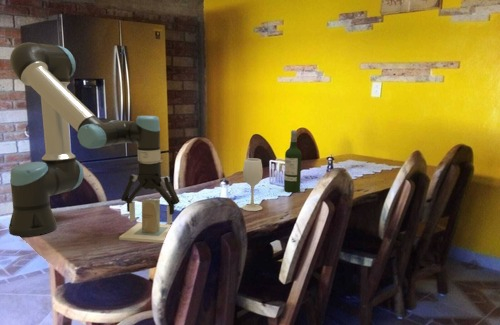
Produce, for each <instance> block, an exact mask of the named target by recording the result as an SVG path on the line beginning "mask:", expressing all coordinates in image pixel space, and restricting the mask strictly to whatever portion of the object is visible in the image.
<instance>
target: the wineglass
mask: <svg viewBox="0 0 500 325" xmlns="http://www.w3.org/2000/svg"><path fill="white" fill-rule="evenodd" d="M243 162H244V163H243V169H242V176H243V177H242V179H243V181H244V182H245V183H247V185H249V186H250V190H251V194H250V195H251V196H250V197H251V198H250V204H246V205H243V206H242V207H241V209H243V211H248V212H256V211H261V210H263V207H262V206H261V205H259V204H255V199H254V197H255V196H254V192H255V191H254V190H255V186H256V185H258V184H259V183H260V182H261V181H262V179H263V164H262V159H260V158H253V157H251V158H249V157H248V158H245V159H244V161H243Z"/></svg>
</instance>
